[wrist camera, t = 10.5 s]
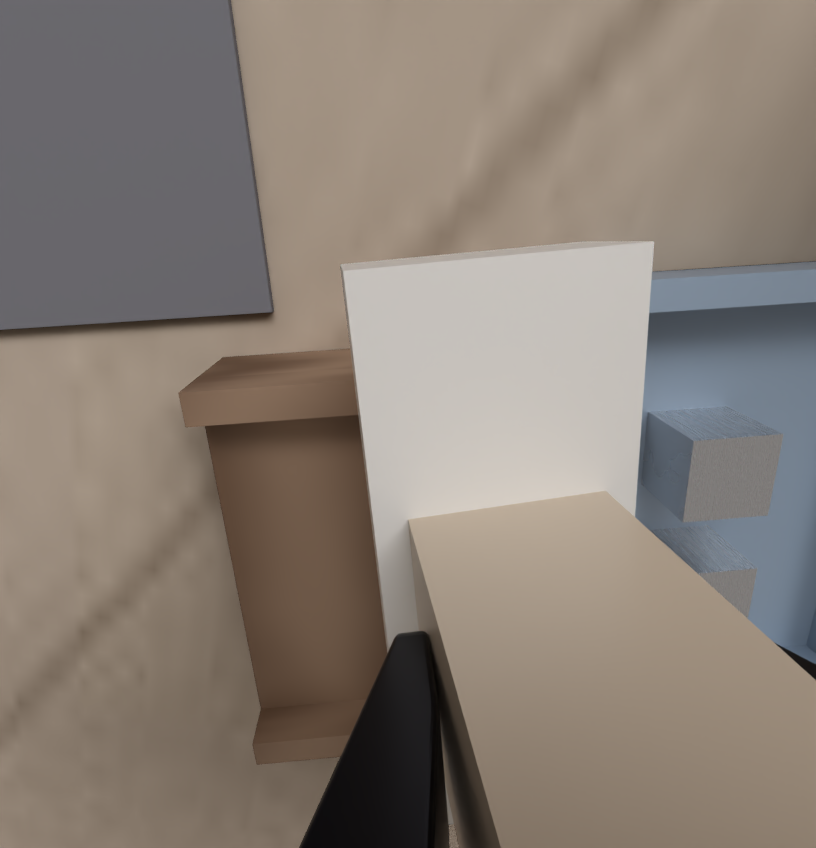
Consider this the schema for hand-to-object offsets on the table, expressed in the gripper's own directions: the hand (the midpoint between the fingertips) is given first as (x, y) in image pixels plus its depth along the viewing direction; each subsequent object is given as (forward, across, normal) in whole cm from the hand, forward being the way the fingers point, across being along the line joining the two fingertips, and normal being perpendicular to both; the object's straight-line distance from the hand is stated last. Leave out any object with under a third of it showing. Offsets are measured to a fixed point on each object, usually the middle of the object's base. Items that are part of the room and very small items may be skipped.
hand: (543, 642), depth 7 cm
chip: (+11, -8, +3) cm, 14 cm away
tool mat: (+13, +10, -10) cm, 19 cm away
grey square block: (+11, -8, +8) cm, 16 cm away
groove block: (+13, +1, +5) cm, 14 cm away
